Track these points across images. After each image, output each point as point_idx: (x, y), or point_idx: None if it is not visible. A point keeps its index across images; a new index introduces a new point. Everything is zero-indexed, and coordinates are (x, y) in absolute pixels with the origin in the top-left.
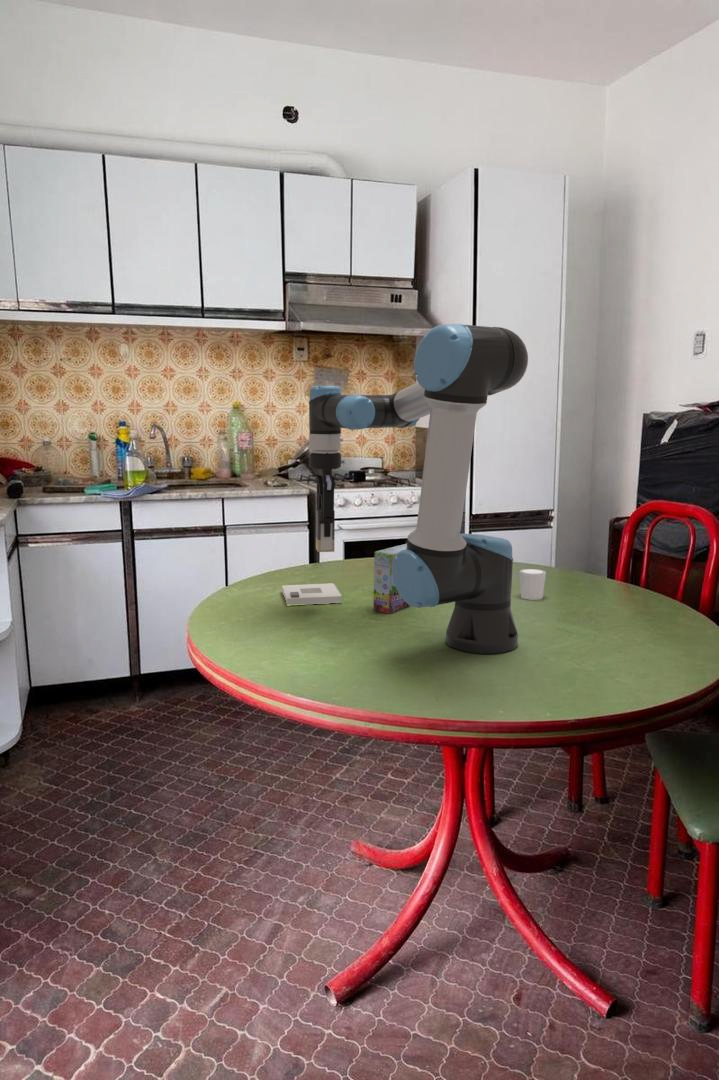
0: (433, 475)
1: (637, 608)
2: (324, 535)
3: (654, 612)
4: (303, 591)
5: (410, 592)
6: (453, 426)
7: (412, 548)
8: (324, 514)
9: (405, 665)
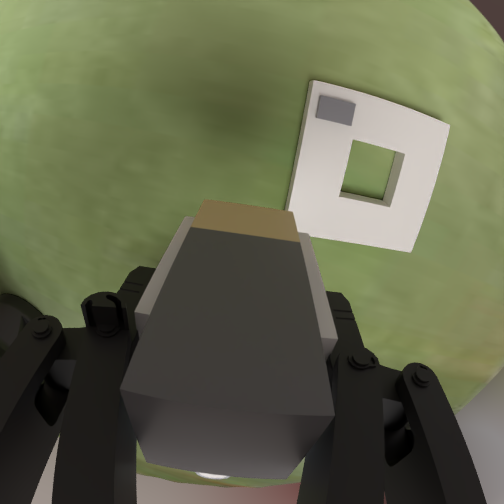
0: None
1: (153, 465)
2: (138, 271)
3: (139, 465)
4: (398, 162)
5: None
6: None
7: None
8: (3, 362)
9: None
